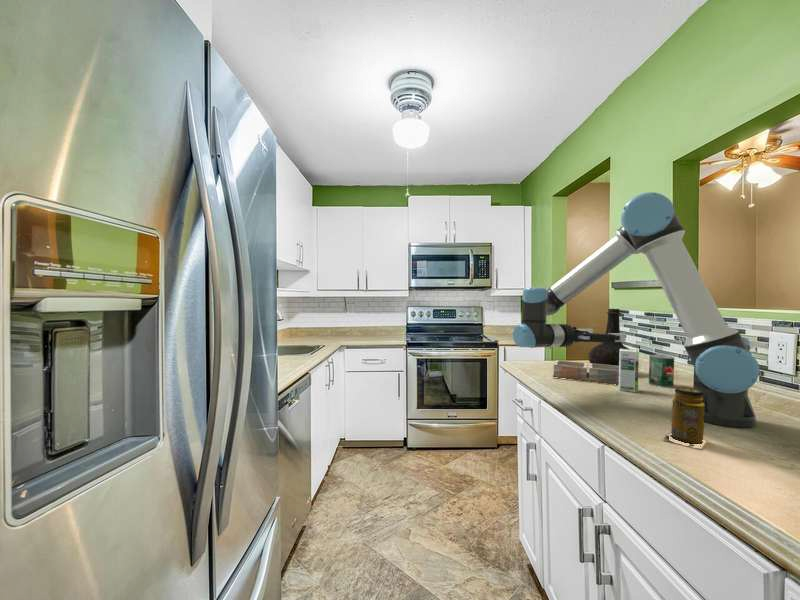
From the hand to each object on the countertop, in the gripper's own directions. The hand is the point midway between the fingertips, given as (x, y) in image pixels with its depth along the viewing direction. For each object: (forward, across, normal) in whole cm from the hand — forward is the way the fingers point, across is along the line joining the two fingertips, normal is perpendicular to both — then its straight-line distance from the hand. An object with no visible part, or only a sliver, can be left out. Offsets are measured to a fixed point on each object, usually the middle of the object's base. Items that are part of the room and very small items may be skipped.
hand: (607, 334), depth 134 cm
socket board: (+10, -18, -20) cm, 29 cm away
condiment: (-19, +41, -20) cm, 49 cm away
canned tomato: (+30, -2, -20) cm, 36 cm away
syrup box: (+10, 0, -20) cm, 22 cm away
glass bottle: (+30, -25, -20) cm, 44 cm away
